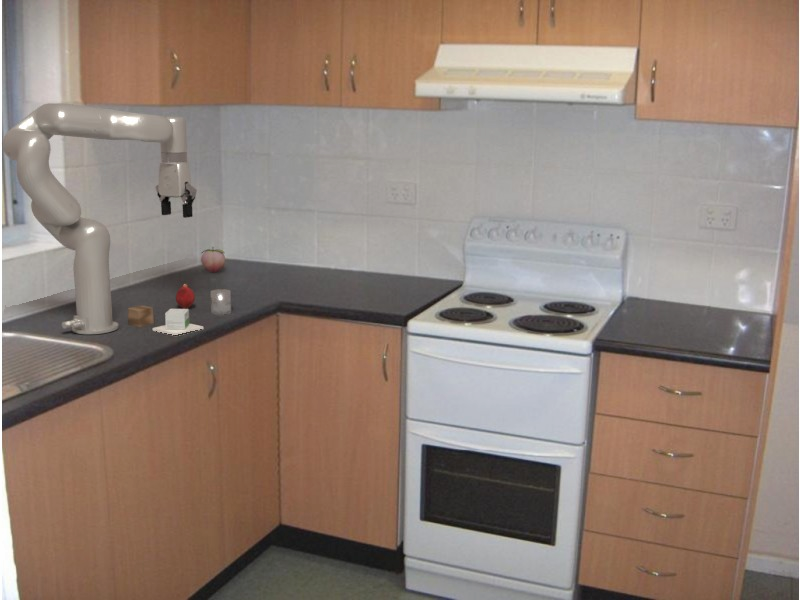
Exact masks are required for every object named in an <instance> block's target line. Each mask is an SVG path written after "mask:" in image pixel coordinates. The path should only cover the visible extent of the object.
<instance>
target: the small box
mask: <svg viewBox="0 0 800 600" xmlns="http://www.w3.org/2000/svg"><path fill="white" fill-rule="evenodd" d="M164 317H165V318H164V319H165V325H166V329H176V330H185V329H186V327H187V326H188V325H189V323H190V309H189V308H188V309H184V308H169V309H168V310H167V311H166V312H165V313H164Z"/></svg>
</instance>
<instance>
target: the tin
mask: <svg viewBox="0 0 800 600" xmlns="http://www.w3.org/2000/svg"><path fill="white" fill-rule="evenodd" d="M231 294H232V293H231V290H230V289H228V288H227V289H225V288H223V289H222V288H221V289H220V288H219V289H218V288H217V289H212V290H210V309H211V310H210V311H211V313H212V314H214V315H213V316H225V315H224V314H228V315H230V313H231V314H232V300H231V299H232V298H231ZM212 314H211V315H212Z"/></svg>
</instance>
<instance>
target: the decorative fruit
mask: <svg viewBox="0 0 800 600" xmlns="http://www.w3.org/2000/svg"><path fill="white" fill-rule="evenodd" d="M211 247H212V248H211V249H210V248H209V249H204V250H202V251H201V254H202V255H201V257H200V258H201V259H200V262H201V265H202V266H203V268H204V269H206V270H207V271H209V272H212V273H217V272H218V271H220V270H221V269H223V267H224V266H225V263H226V256H225V251H224V250H222V249H220V248H218V249H217V248H215V249H214V246H211Z"/></svg>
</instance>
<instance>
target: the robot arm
mask: <svg viewBox="0 0 800 600" xmlns="http://www.w3.org/2000/svg"><path fill="white" fill-rule="evenodd" d="M186 125H187V123H186V119H185V118H184V117H182V116H179V115H178V116H177V115H176V116H174V115H172V116H171V115H167V116H162V115H156V114H150V113H149V114H148V113H139V112H138V113H137V112H130V111H124V110H118V109H111V108H106V107H105V108H104V107H96V106H89V105H88V106H87V105H79V104H70V103H57V102H54V103H51V102H49V103H43V104H42V105H39V107H37V108H35V109H34V110H33V111H31V112H30V113H29V114H28V115H27V116H25V117H24V118H22V119H21V120H20V121H19V122H18V123H17V124H15V125H14V126H13V127H11V128H10V129H9V130H8V131H7V132H6V133H5V135H4V136H3V138H2V140H3V148H2V151H3V153H4V154H5V156H7V158H9V159H10V160H12V161H15V162H16V177H17V181H18V183H19V185H20V187H21V189H22V190H23V192H25V193H26V194H27V196H28V197H29V198H30V199H31V202H30V203H31V204H30V208H31V212H32V214H33V216H34V218H35V219H36V220H37V221H38V223H40V225H41V226H42V227H43V228H44V229H45V230H46V231H47V232H48V233H49V234H50V235H51V236H52V237H53V238H54V239H56V241H57V242H58V243H60V244H61V245H62V246H63V247H65V248H67V249H69V250H72V251H75V252H74V259H73V270H72V271H73V279H74V293H75V294H74V295H75V307H76V315H73V318H72V319H71V320H67V321H62V322H61V328H62V329H64V330H65V329H69V328H71V329H72V332H73V333H75V334H79V335H101V334H107V333H111V332H114V331H117V330H118V329H119V328H120V327H119V323H118V322H116V321H114V320H113V306H112V294H111V292H112V291H111V278H110V277H111V276H110V264H109V262H110V247H111V235H110V231H109V230H108V228H107V227H106V225H104V224H103V223H102V222H101V221H98V220H95V219H90V218H86V217H85V218H84V217H81V215H82V207H81V204H80V203H79V201H78V200H77V198H75V197H74V195H72V194H71V193H70V191H69V190H67V189H68V188H66V186H64V185H63V184H62V183H61V182H60V181H59V179H58V178H57V177H56V176H55V175H54V173H52V170H51V167H50V156H51V151H52V149H51V143H50V139H51V138H53V136H64V137H71V138H72V137H73V138H85V139H95V140H96V139H98V140H106V141H107V140H108V141H119V140H120V141H124V140H126V141H127V140H128V141H130V140H131V141H141V142H143V143H144V142H145V143H146V142H147V143H159V144H160V158H161V159H160V160H161V162H160V163H159V168H158V184H157V185H156V186H155V190H156V193H157V197H158V198H159V202H160V207H161V208H160V209H161V215H162V216H167V215H169V216H170V215H172V205H171V201H170V199H171V198H174V199H176V198H180V199H181V200H182V203H183V204H182V206H181V207H182V217H183V219H184V218H192V217H193V214H194V213H193V204H194V201H195V200H196V195H197V190H198V189H196V188H195V187H194V186H193V185H192V179H191V171H190V167H189V163H188V153H187V152H188V150H187V147H188V146H187V145H188V144H187V126H186Z"/></svg>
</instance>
